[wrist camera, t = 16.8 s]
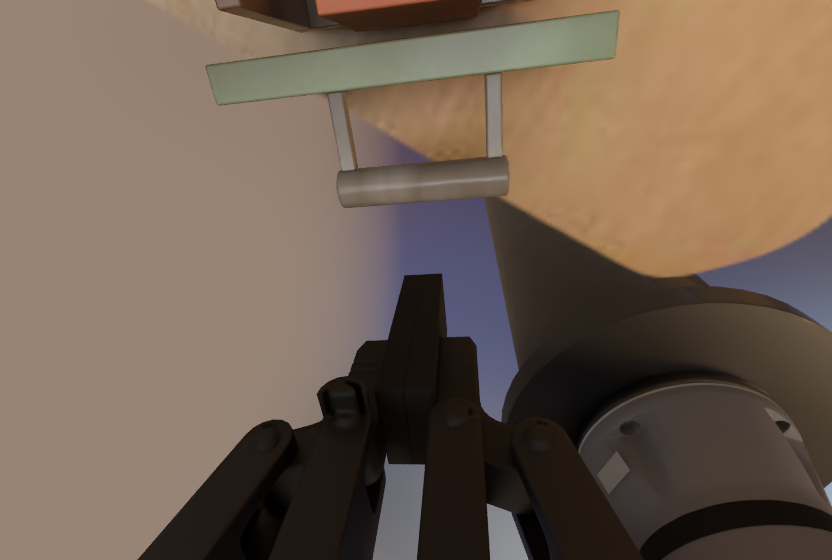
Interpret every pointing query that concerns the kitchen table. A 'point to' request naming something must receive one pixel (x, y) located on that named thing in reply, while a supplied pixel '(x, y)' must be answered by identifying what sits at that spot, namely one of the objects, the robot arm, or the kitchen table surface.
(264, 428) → the robot arm
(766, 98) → the kitchen table surface
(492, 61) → the drawer
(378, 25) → the block
